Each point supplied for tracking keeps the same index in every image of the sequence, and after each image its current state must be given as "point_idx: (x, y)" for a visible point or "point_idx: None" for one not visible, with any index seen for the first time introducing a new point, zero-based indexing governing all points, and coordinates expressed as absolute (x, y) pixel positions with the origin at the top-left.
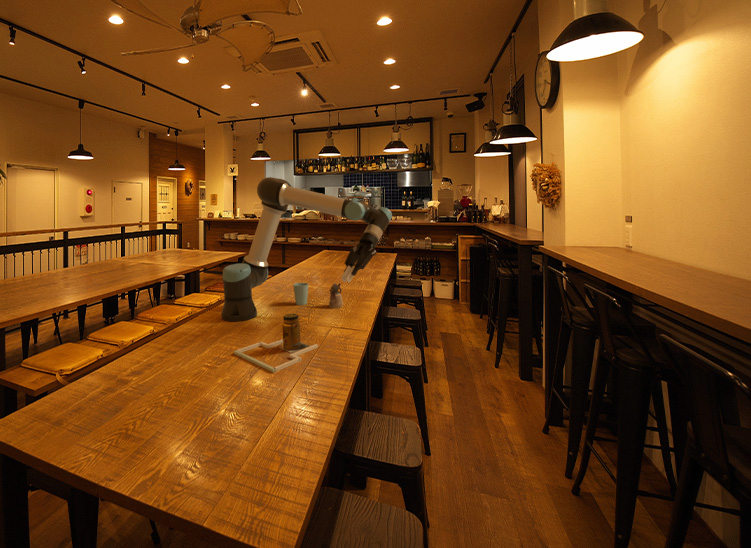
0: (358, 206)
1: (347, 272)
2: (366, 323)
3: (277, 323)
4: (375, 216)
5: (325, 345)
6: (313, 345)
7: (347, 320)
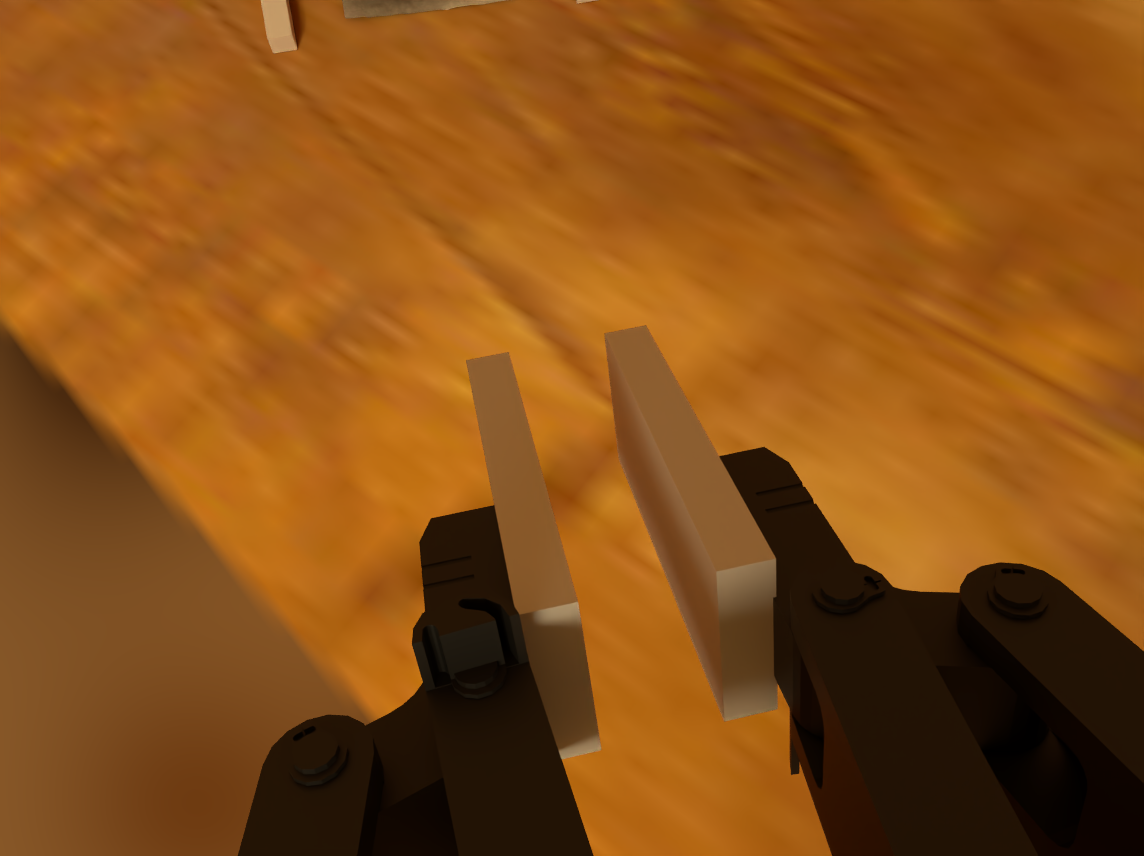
0: None
1: (661, 499)
2: None
3: (1057, 70)
4: None
5: (267, 121)
6: (279, 5)
7: None
